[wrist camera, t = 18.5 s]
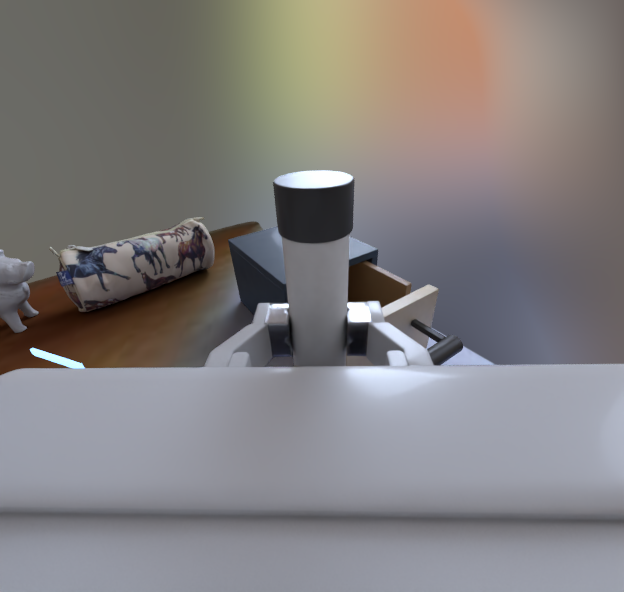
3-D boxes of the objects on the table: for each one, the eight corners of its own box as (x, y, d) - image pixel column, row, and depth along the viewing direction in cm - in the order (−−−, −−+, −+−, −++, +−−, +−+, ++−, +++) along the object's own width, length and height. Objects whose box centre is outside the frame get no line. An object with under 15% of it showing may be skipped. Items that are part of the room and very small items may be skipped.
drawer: (467, 376, 31) (488, 312, 26) (384, 441, 25) (393, 374, 21) (347, 296, 44) (348, 245, 40) (276, 328, 39) (268, 273, 34)
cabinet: (373, 316, 41) (378, 248, 36) (292, 357, 36) (283, 284, 30) (311, 274, 52) (308, 217, 46) (240, 301, 46) (227, 239, 41)
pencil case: (82, 325, 43) (45, 262, 37) (73, 301, 48) (40, 243, 43) (225, 271, 54) (212, 217, 49) (204, 257, 60) (191, 206, 54)
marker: (293, 447, 16) (260, 188, 9) (305, 406, 19) (287, 169, 11) (341, 457, 16) (347, 190, 9) (348, 415, 18) (359, 170, 11)
